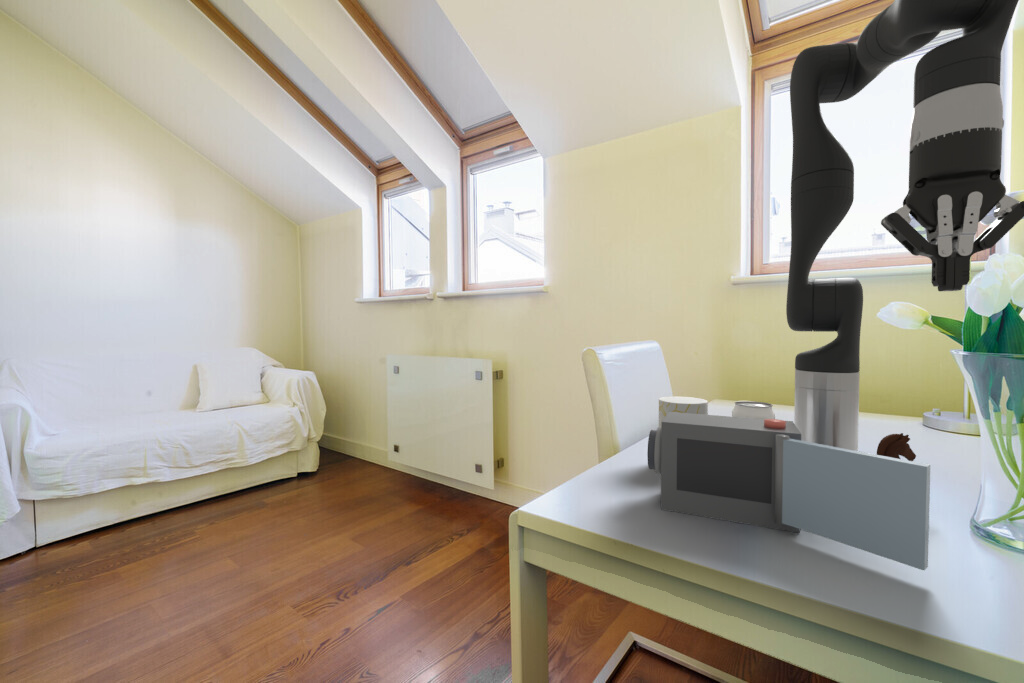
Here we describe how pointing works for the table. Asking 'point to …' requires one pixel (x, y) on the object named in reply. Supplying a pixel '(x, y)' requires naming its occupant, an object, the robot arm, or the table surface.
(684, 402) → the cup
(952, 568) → the table surface
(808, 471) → the side door
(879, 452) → the chess piece
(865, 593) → the table surface
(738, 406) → the can
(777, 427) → the grey box
